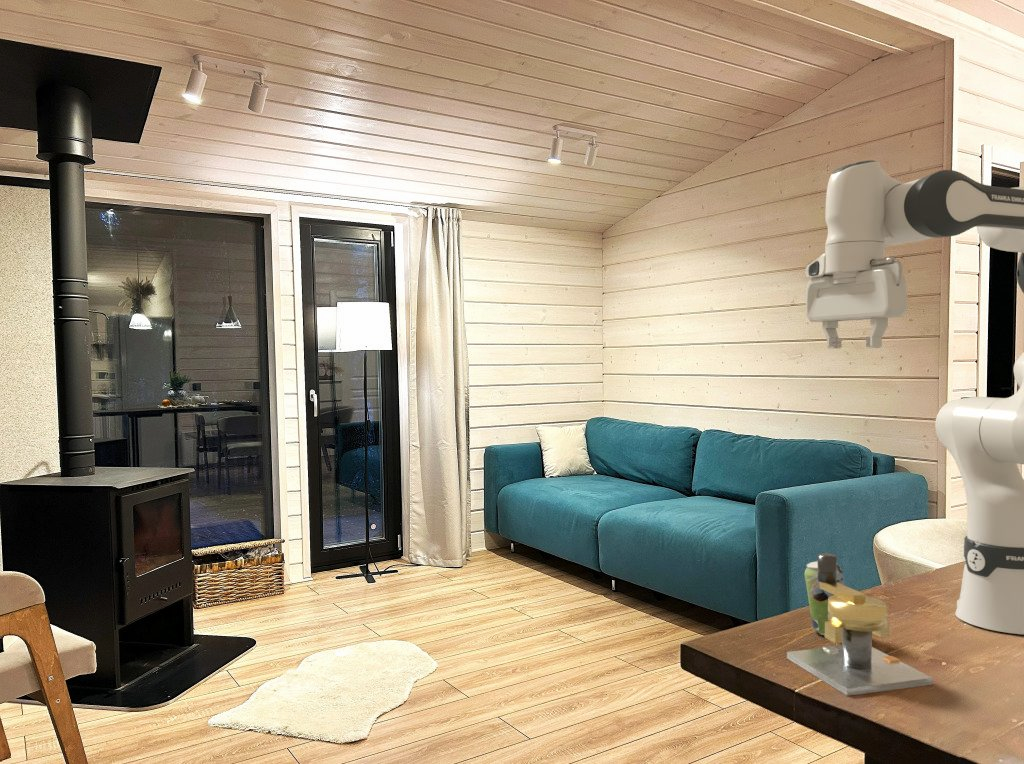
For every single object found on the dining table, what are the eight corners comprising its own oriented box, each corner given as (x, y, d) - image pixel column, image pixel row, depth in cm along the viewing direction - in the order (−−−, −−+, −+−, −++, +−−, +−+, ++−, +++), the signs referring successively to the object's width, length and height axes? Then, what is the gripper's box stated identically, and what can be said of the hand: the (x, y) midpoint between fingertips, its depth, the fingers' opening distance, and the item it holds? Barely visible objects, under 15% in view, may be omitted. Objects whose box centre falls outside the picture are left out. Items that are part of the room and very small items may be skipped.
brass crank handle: (846, 616, 127) (846, 551, 126) (902, 644, 115) (903, 571, 114) (795, 621, 124) (796, 555, 124) (847, 650, 112) (848, 576, 112)
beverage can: (854, 641, 130) (855, 568, 129) (807, 638, 131) (807, 566, 131) (846, 628, 136) (847, 558, 135) (801, 625, 137) (801, 556, 137)
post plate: (864, 649, 126) (865, 605, 126) (932, 684, 112) (932, 635, 112) (787, 658, 122) (787, 613, 122) (847, 695, 109) (847, 645, 109)
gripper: (918, 255, 120) (917, 347, 120) (830, 270, 140) (829, 348, 140) (883, 254, 118) (882, 347, 119) (799, 269, 138) (798, 348, 138)
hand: (853, 348), depth 129 cm, fingers open, 8 cm apart
